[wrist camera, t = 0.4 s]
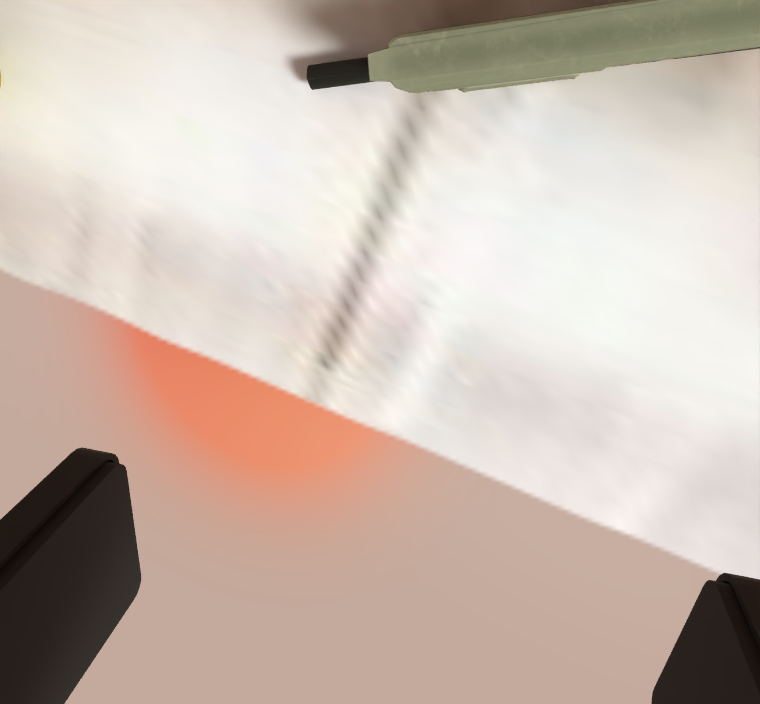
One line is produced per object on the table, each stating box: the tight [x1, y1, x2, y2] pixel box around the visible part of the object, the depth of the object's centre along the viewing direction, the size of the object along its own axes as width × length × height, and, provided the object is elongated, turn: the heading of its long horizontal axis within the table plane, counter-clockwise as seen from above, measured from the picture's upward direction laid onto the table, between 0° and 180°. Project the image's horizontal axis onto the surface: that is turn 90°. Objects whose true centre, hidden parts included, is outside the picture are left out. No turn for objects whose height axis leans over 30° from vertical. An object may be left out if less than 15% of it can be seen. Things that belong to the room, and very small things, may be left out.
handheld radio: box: [307, 0, 760, 93], centre depth 30 cm, size 7×3×25 cm
